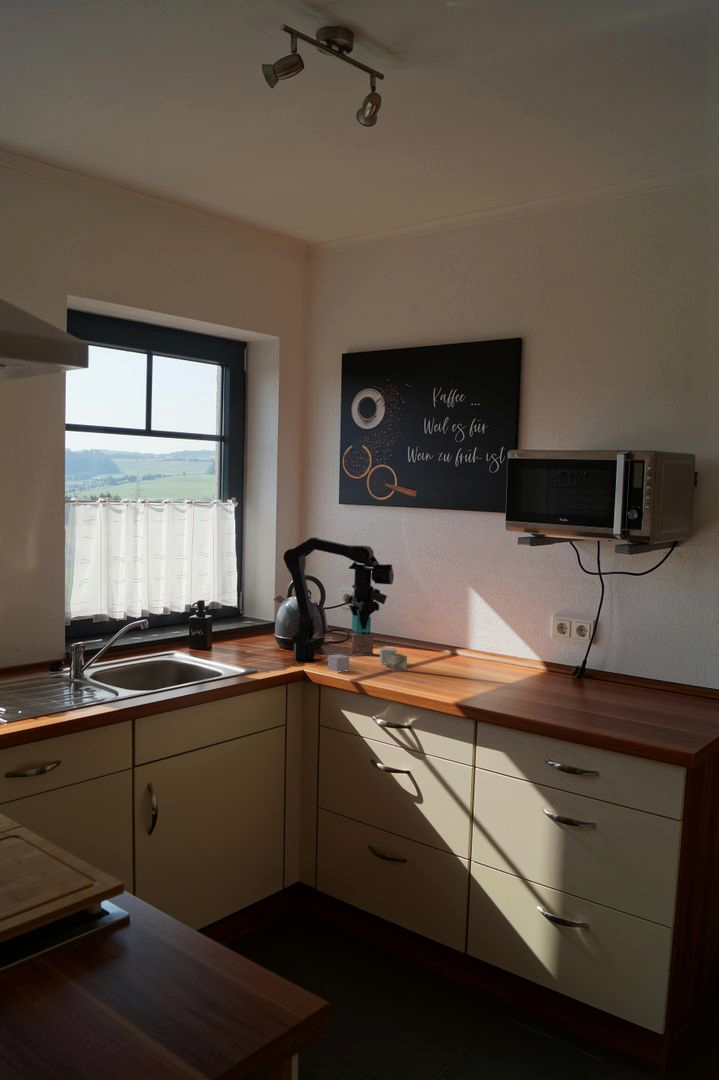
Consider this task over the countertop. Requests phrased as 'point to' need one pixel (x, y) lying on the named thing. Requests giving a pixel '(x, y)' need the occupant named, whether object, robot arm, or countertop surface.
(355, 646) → the brown upright block
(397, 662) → the grey-green cube
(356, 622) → the teal cube
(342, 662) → the lilac cube
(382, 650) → the grey cube
